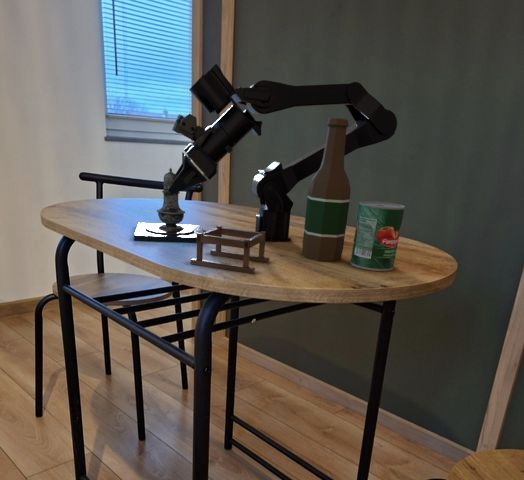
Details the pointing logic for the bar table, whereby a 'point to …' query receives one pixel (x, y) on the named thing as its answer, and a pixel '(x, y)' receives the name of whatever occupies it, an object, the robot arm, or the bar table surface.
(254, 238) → the brown wooden stand
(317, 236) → the beer bottle
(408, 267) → the bar table surface
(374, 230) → the canned tomato
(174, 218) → the salt shaker
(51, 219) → the bar table surface
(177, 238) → the plate
